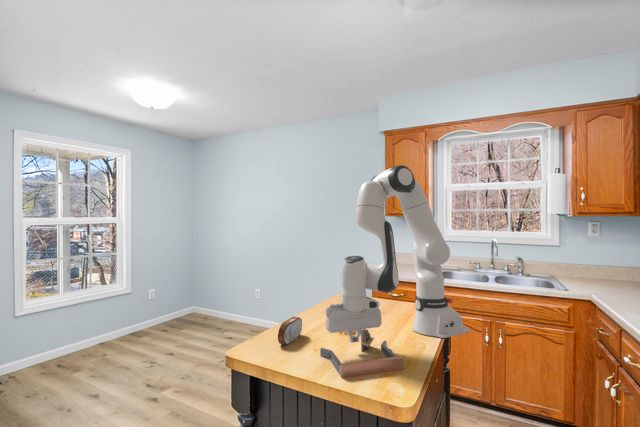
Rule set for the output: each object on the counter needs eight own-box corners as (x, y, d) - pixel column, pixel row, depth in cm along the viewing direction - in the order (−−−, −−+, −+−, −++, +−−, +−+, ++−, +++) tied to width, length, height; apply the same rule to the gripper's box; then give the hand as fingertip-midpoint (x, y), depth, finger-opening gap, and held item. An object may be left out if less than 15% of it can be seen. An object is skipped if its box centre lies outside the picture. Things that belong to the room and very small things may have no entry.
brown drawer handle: (385, 347, 119) (385, 337, 119) (409, 368, 103) (409, 357, 103) (319, 355, 113) (319, 345, 113) (334, 378, 96) (334, 367, 96)
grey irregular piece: (374, 347, 119) (374, 327, 119) (369, 355, 113) (369, 333, 113) (365, 346, 121) (365, 326, 121) (360, 353, 114) (360, 332, 114)
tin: (296, 333, 133) (296, 313, 133) (303, 335, 132) (303, 314, 132) (277, 347, 120) (276, 324, 120) (284, 349, 118) (284, 325, 118)
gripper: (329, 307, 109) (329, 349, 109) (383, 302, 115) (383, 341, 115) (323, 302, 115) (323, 342, 115) (375, 298, 121) (375, 335, 121)
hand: (354, 341), depth 115 cm, fingers closed
